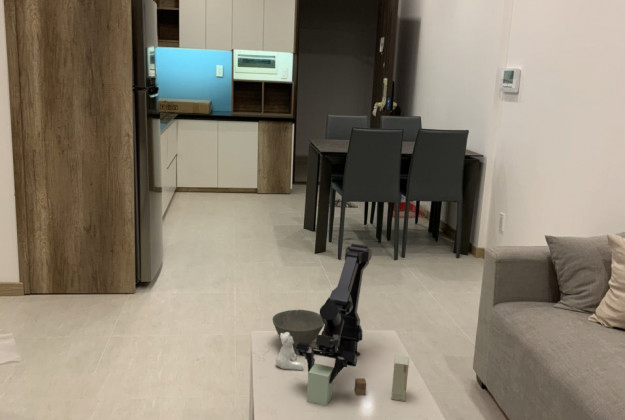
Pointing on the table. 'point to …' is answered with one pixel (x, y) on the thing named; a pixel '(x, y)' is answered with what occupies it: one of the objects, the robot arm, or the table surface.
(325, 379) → the mint green pillar
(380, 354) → the table surface
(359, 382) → the brown box
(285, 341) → the white creature statuette
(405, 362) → the skincare box
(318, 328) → the bowl
